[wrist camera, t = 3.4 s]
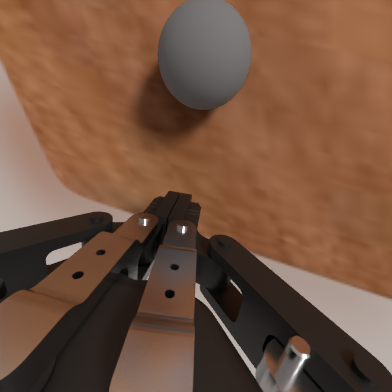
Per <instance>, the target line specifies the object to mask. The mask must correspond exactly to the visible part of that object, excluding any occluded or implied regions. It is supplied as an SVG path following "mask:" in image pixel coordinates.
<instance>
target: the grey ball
mask: <svg viewBox="0 0 392 392" xmlns="http://www.w3.org/2000/svg"><path fill="white" fill-rule="evenodd" d="M158 63H159V69H160V73H161V76H162V79H163V81H164V83H165V85H166V87H167V89H168V90H169V92H170V93H171V94H172V95H173V96H174V97H175V98H176V99H177V100H178V101H179V102H181V103H182V104H184V105H185V106H188V107H190V108H193V109H198V110H209V109H214V108H217V107H220V106H222V105H224V104H225V103H227V102H228V101H229V100H231V99H232V98H233V97H234V96H235V95H236V94H237V93H238V91H239V90H240V89H241V87H242V85H243V84H244V82H245V80H246V77H247V75H248V71H249V68H250V63H251V41H250V36H249V32H248V29H247V26H246V24H245V22H244V20H243V18H242V17H241V15H240V14H239V13H238V12H237V10H235V9H234V8H233V7H232V6H231V5H230V4H229V3H227V2H226V1H224V0H188V1H186V2H184V3H183V4H181V5H180V6H179V7H178V8H176V9H175V11H174V12H173V13H172V14H171V15H170V17H169V18H168V20H167V21H166V23H165V25H164V27H163V30H162V32H161V36H160V40H159V46H158Z"/></svg>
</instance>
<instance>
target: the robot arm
mask: <svg viewBox="0 0 392 392" xmlns="http://www.w3.org/2000/svg"><path fill="white" fill-rule="evenodd" d="M191 199H192V195H190V194H184V193H181V194H180V193H179V192H173V191H169V192H168V193H167V195H166V196H165V197H160V196H159V197H157V198H155V199H154V200H153V201H152V202H151V203H150V205H149V206H148V207H147V209H146V210H145V211H144V212H143V213H137V214H134V215H132V216H131V217H130V218H129V219H128V220H127V221H126V222H112V220H113V219H112V218H113V217H112V216H111V215H110V214H109V213H106V212H91V213H86V214H82V215H77V216H73V217H69V218H64V219H59V220H54V221H50V222H46V223H41V224H37V225H32V226H28V227H23V228H18V229H14V230H9V231H5V232H0V392H392V375H391V374H390V372H389V371H388V370H387V369H386V367H384V365H383V364H382V363H381V362H380V361H379V360H377V359H376V358H375V357H374V356H373V355H372V354H371V353H369V352H368V351H367V350H366V349H365V348H363V347H362V346H361V345H360V344H359V343H357V342H356V341H355V340H354V339H353V338H351V337H350V336H349V335H348V334H347V333H345V332H344V331H343V330H342V329H341V328H340V327H338V326H337V325H336V324H335V323H334V322H332V321H331V320H330V319H329V318H328V317H326V316H325V315H324V314H323V313H322V312H320V311H319V310H318V309H317V308H316V307H314V306H313V305H312V304H311V303H310V302H309V301H307V300H306V299H305V298H304V297H303V296H301V295H300V294H299V293H298V292H297V291H295V290H294V289H293V288H292V287H291V286H289V285H288V284H287V283H286V282H285V281H284V280H282V279H281V278H280V277H279V276H278V275H276V274H275V273H274V272H273V271H272V270H270V269H269V268H268V267H267V266H266V265H264V264H263V263H262V262H261V261H260V260H258V259H257V258H256V257H255V256H254V255H253V254H251V253H250V252H249V251H248V250H247V249H245V248H244V247H243V246H242V245H241V244H239V243H238V242H237V241H236V240H235V239H233V238H231V237H229V236H226V235H214V236H212V237H211V238H210V239H207V238H205V237H203V236H202V235H200V234H199V232H198V231H197V227H198V221H199V216H200V210H201V207H200V205H199V204H198V203H193V202H191ZM79 242H82V248H81V249H79V250H78V251H77V252H76V253H74V254H73V255H72V256H71V257H70V258H68V259H65V260H62V261H60V262H57V263H54V264H51V265H46V257H47V255H48V254H49V253H50V252H52V251H54V250H57V249H60V248H63V247H66V246H69V245H72V244H76V243H79ZM149 274H150V275H149ZM148 276H149V278H148V280H146V279H147V277H148ZM231 279H232V281H233V282H234V283H235V284H236V285H237V286H238V287H239V288H240V290H241V292H242V294H241V293H240V292H239V291H238V290H237V288H236V287H235V286H234V285H233V284H232V283H231V282H230V280H231ZM195 282H196V283H198V284H200V290H201V292H202V294H203V295H204V297H205V298H206V300H207V301H208V302H209V304H210V305H211V307H212V308H213V309H214V311H215V312H216V314H217V315H218V316H219V318H220V319H221V321H222V322H223V323H224V325H225V326H226V328H227V329H228V330H229V332H230V333H231V335H232V336H233V337H234V339H235V340H236V342H237V343H238V344H239V346H240V347H241V349H242V350H243V351H244V353H245V354H246V356H247V357H248V358H249V360H250V361H251V363H252V364H253V365H254V367H255V368H256V379H255V378H254V376H253V375H252V373H251V371H250V370H249V368H248V367H247V365H246V364H245V362H244V361H243V359H242V358H241V356H240V355H239V353H238V351H237V350H236V349H235V347H234V345H233V344H232V342H231V341H230V339H229V338H228V336H227V335H226V333H225V332H224V330H223V328H222V327H221V325H220V324H219V323H218V321H217V319H216V318H215V316H214V315H213V313H212V312H211V311H210V310H209V308H208V307H207V306H206V305H205V304H204V303H202V302H201V301H200V300H198V299H197V298H195Z"/></svg>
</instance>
